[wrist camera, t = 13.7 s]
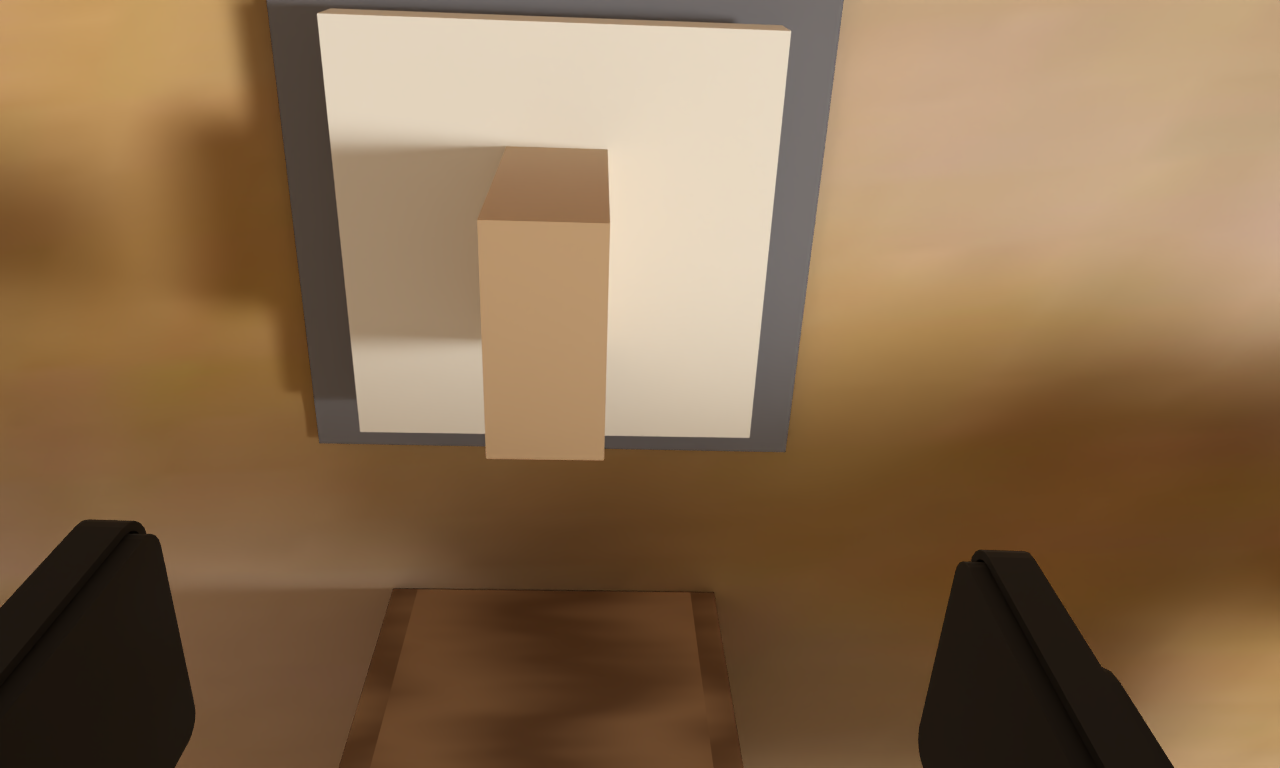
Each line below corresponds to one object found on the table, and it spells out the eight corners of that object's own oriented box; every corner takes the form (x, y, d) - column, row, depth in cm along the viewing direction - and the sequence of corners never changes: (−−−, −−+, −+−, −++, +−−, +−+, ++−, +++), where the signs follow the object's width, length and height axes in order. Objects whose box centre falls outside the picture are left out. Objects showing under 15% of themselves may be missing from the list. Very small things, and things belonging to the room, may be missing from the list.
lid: (774, 20, 24) (854, 70, 16) (739, 401, 28) (787, 572, 21) (341, 4, 23) (221, 48, 16) (376, 395, 28) (297, 568, 20)
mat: (846, -52, 23) (850, -51, 23) (783, 445, 30) (785, 452, 29) (262, -80, 23) (256, -80, 22) (322, 436, 29) (319, 443, 28)
